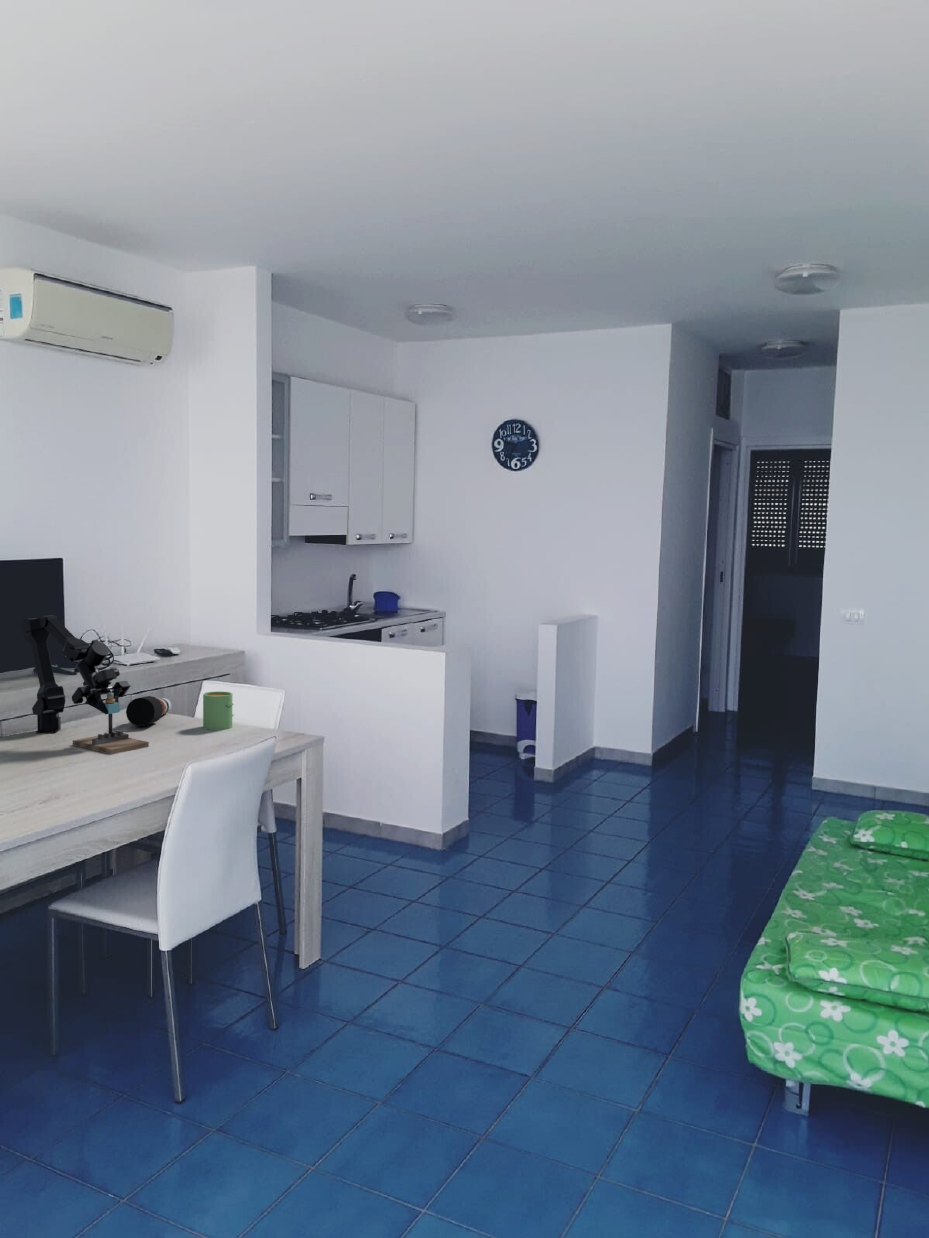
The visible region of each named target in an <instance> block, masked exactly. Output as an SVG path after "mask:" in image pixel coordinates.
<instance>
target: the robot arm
mask: <svg viewBox="0 0 929 1238" xmlns="http://www.w3.org/2000/svg"><path fill="white" fill-rule="evenodd" d="M20 629H21V631H22V634H23V637H24V639H25V640H26V641H27V642H28V643H29V644H30V646H31V650H32V654H33V658H34V664H35V669H36V673H37V679H38V682H39V687H38V690H37V693H36V699H37V700H36V702H35V703H34V704H33V706H32V707H31V711H32V714H33V715H35V716H37V719H36V721H37V723H36V725H37V730H35V733H37V734H39V733H41V734H42V733H45V734H46V733H50V734H52V733H53V734H55V733H57V732H59V731H60V730H61V729H62V728H61V727H62V725H61V724H62V723H61V722H62V721H61V716H60V713H63V712H64V709H65V705H66V695H65V691H64V686H62V685H58V684H57V683H56V680H55V675H54V669H53V666H52V665H53V664H52V660H51V656H50V651H49V646H48V640H49V637H50V635H51V637H52V638H54V639H55V641H57V643H58V644H59V645H60V646H61V647H62V649H63V650H62V652H63V654H64V657H65V658H66V659H67V661H69V662H72V663H73V662H78V663H77V664H75V665H74V666H75V667H74V669H73V673H74V674H77V673H79V674H80V676H81V678H82V680H83V682H82V685H83V686H79V687H77V688H76V690H75V691H74V693H73V694H72V695H71V701H72V702H73V704H74V705H79V704H83V702H84V698H85V700H86V701H85V702H84V704H85V705H88V706H91V707H92V708H94V709H96V710H98V711H99V712H100V713H101V712H103V714H105V715H108V710H107V708H106V706H105V704H104V703H105V701H103V699H102V697H101V696H103V695H106V696H107V693H114V699H115V702H116V703H120V701H119V699H120V698H123V697H124V696H125V695H126V694H127V692H128V691H129V689H130V688H131V685H130V683H129V682H128V681H127V680H122V681H116V682H115V683H114V684H113V686H110V685H111V684H112V683H113V682H112V681H113V680H115V679H117V678H118V677H120V675H121V673H120V670H119V669H118V667H117V666H113V667H111V668H107V669H106V668H105V669H103V670H100V669H99V667H100V666H101V665H102V664H103V662H104V661H105V659H106V658H107V657H108V655H109V653H110V648H109V646H107V644H106V643H103V642H101V641H99V640H98V639H92V640H91V642H90V644H89V643H88V642H86V641H85V640H83V639H81V638H78V637H75V636H74V634H72V632H70V631H69V629H68V628H67V627H66V626H65V625H64V624H63V623H62V622H61V621H60V620H59V617H58V616H57V615H53V614H51V615H43V616H41V617H37V618H35V617H34V618H33V617H32V618H25V619H23V621H22V623H21V626H20Z"/></svg>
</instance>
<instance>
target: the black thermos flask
mask: <svg viewBox="0 0 929 1238" xmlns="http://www.w3.org/2000/svg"><path fill="white" fill-rule="evenodd" d="M171 709H172V703H171V701H170V700H169V699H168V698H164V697H162V698H156V697H155V696H151V695H147V696H141V697H136V698H134V699H132V700H130V702H129V703H128V705H127V706H126V709H125V714H126V719H127V720H128V722H129V723H131V724H132V725H133V726H136V727H145V726H148V725H152V724H155V723H156V722H158V721H159V720H160V719H161V717H162V716H163V714H164V715H165V714H168V713H170V711H171Z"/></svg>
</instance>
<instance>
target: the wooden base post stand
mask: <svg viewBox="0 0 929 1238" xmlns="http://www.w3.org/2000/svg"><path fill="white" fill-rule="evenodd" d="M104 700H105V701H104V703H108V704H112V703H115V699H114V693H107V695H106V698H105V699H104ZM107 715H108V717H107V718H108V721H107V722H108V723H107V724H108V732H104V733H103V734H101V733H98V734H97V735H93V736H89V737H84V738H79V739H73V740H72V746H75V747H78V748H79V747H81V748H85V749H88V750H93V751H97V752H102V753H106V754H109V755H114V754H119V753H124V752H128V751H135V750H139V749H143V748H148V747H150V746H149V745H150V744H149V743H150V742H149V741H145V740H142V739H141V740H140V739H138V738H137V739H136V738H133V737H129V733H127V732H126V733H125V732H124V731H122V730H116V731H113V713H112V714H107Z"/></svg>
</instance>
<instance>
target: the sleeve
mask: <svg viewBox="0 0 929 1238" xmlns="http://www.w3.org/2000/svg"><path fill="white" fill-rule="evenodd" d="M104 704H105V706H106V708H107V710H108V714H112V715H113V714H119V713H120V712H121V708H120V707H121V706H120V702H119V703H116V702H115V703H112V704H108V703H105V702H104ZM100 713H103V712H101V711H100ZM103 714H104V713H103ZM108 714H107V715H108Z"/></svg>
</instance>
